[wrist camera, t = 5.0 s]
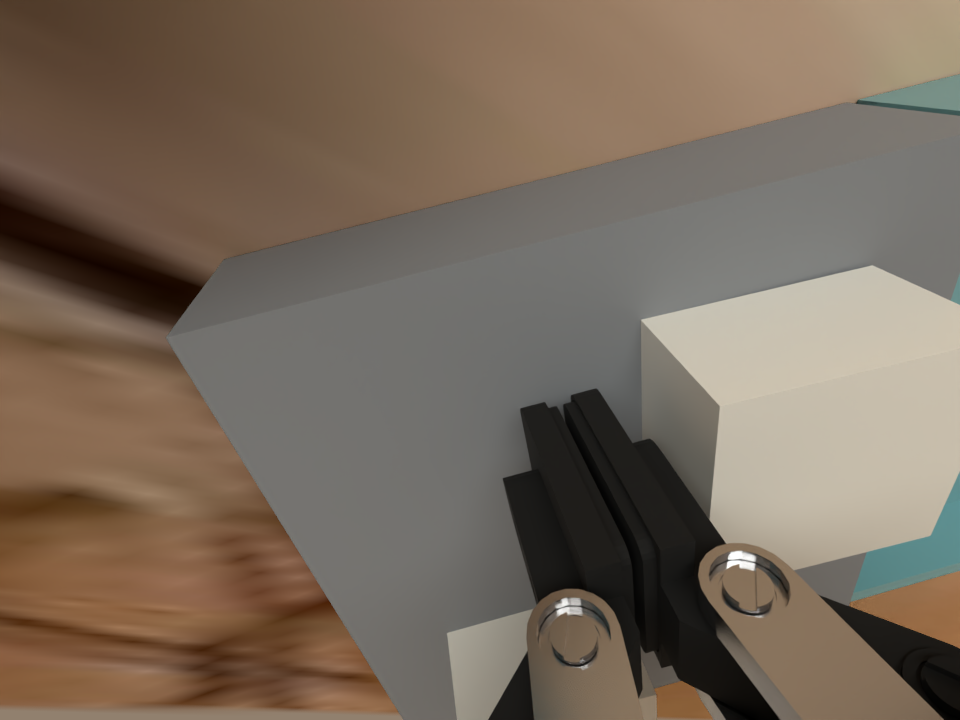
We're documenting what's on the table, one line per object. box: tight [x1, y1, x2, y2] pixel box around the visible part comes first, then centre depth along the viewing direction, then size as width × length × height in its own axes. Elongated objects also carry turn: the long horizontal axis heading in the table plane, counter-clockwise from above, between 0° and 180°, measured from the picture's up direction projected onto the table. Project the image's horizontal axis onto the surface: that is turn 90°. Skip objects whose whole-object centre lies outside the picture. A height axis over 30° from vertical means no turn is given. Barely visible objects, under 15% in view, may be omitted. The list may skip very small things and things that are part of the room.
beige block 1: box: [447, 609, 657, 720], centre depth 15 cm, size 5×5×3 cm
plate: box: [166, 103, 960, 720], centre depth 16 cm, size 16×18×4 cm
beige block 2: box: [641, 265, 960, 570], centre depth 11 cm, size 5×5×3 cm
